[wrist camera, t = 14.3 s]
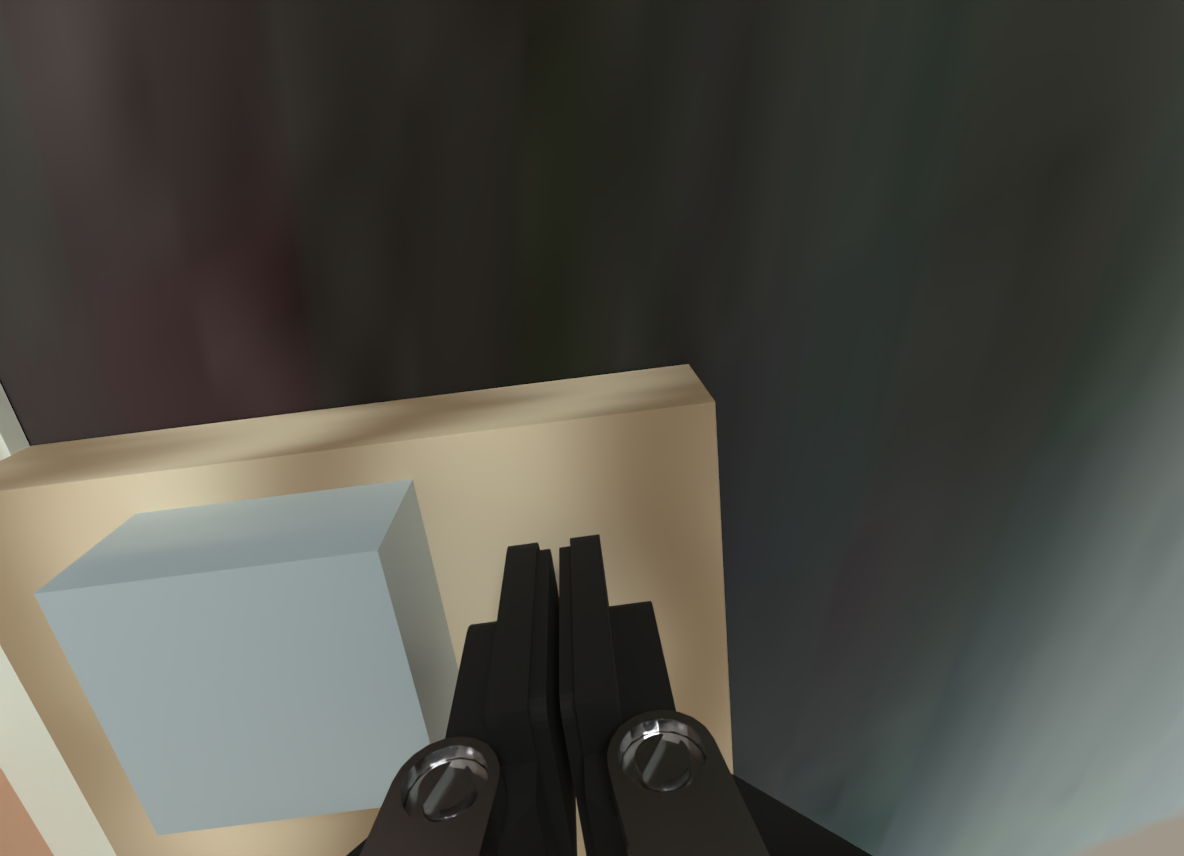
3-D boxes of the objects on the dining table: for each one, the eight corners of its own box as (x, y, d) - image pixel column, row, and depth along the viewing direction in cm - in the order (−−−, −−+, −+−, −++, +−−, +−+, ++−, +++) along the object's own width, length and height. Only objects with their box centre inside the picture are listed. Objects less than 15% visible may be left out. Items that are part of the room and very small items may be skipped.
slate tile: (412, 479, 12) (377, 550, 9) (464, 695, 13) (445, 798, 11) (135, 514, 12) (33, 593, 9) (224, 725, 13) (157, 835, 11)
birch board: (688, 364, 14) (715, 401, 11) (716, 804, 18) (739, 894, 16) (30, 446, 14) (-80, 501, 11) (226, 865, 18) (177, 966, 16)
